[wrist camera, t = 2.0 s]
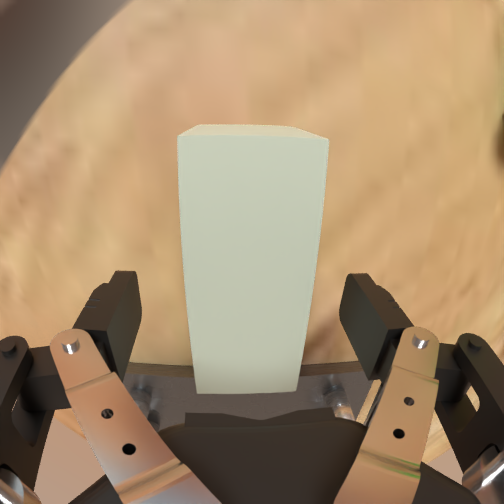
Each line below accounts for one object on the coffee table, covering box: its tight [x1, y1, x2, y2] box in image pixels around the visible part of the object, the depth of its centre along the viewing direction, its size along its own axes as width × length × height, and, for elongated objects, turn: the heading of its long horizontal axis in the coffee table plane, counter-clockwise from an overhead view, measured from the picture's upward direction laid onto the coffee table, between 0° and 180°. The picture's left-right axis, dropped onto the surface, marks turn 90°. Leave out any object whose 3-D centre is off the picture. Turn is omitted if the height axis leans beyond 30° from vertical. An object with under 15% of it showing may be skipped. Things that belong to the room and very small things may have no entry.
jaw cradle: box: [123, 361, 374, 432], centre depth 23 cm, size 22×10×5 cm, turn 87°
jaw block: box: [177, 124, 329, 394], centre depth 16 cm, size 5×12×7 cm, turn 178°
